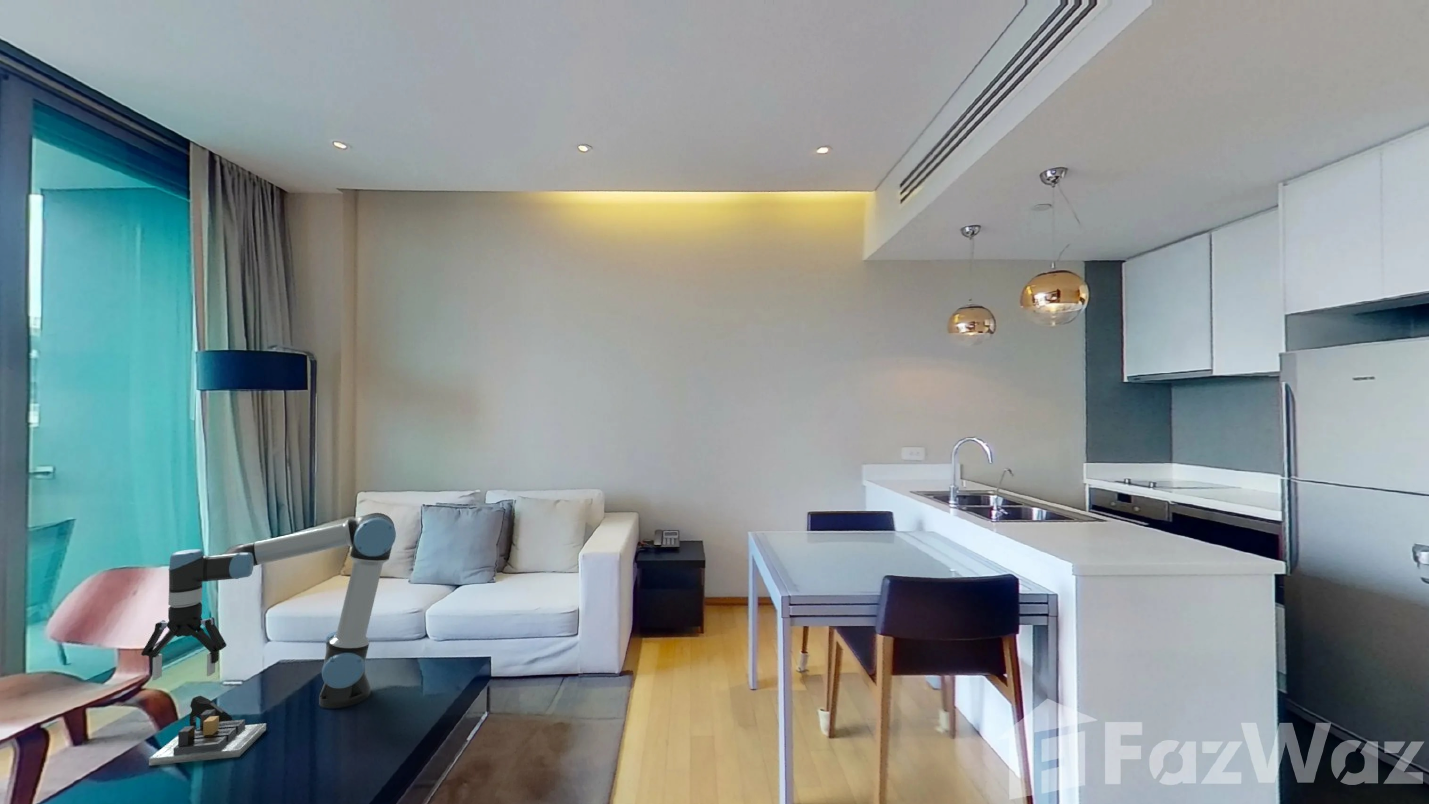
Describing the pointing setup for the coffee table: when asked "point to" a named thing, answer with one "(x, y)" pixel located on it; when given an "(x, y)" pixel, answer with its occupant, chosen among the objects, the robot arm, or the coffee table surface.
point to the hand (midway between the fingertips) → (184, 676)
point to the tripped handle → (211, 725)
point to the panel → (210, 754)
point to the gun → (203, 704)
